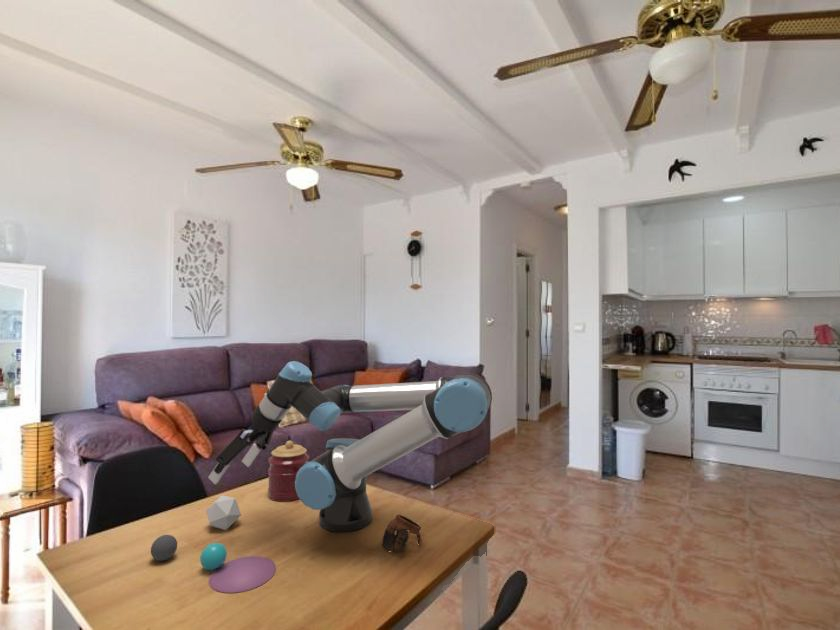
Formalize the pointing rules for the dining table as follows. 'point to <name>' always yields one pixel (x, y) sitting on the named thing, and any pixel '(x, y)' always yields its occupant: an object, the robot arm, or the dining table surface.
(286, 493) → the canister
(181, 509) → the dining table surface
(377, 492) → the dining table surface
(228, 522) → the die
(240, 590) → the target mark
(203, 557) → the object ball
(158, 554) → the dark grey ellipsoid
